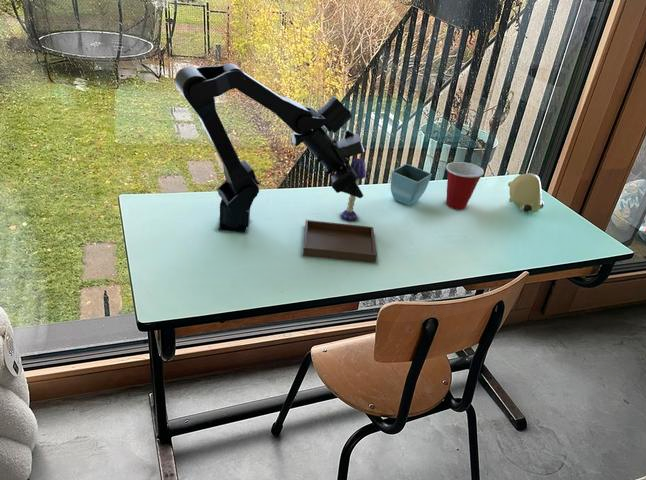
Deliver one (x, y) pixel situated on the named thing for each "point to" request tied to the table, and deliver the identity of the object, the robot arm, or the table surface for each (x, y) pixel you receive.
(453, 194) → the plastic cup
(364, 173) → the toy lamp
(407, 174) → the flower pot
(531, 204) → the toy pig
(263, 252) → the table surface
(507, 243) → the table surface
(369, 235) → the tray
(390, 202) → the table surface
